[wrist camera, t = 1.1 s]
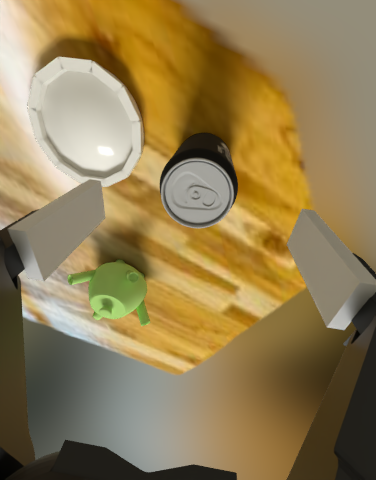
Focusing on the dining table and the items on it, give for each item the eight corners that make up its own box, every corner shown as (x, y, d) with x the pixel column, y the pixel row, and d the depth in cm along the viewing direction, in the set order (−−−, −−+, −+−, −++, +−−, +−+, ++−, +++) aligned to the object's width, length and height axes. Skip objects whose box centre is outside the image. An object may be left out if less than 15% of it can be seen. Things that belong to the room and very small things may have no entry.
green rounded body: (104, 296, 43) (82, 335, 36) (84, 249, 37) (53, 284, 30) (158, 298, 41) (147, 338, 34) (148, 249, 35) (131, 285, 28)
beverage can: (187, 123, 25) (168, 137, 15) (239, 144, 25) (255, 171, 15) (171, 176, 28) (147, 217, 18) (217, 193, 29) (218, 242, 19)
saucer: (53, 175, 30) (45, 178, 29) (23, 53, 23) (12, 51, 22) (144, 187, 30) (141, 192, 28) (143, 68, 22) (139, 66, 21)
